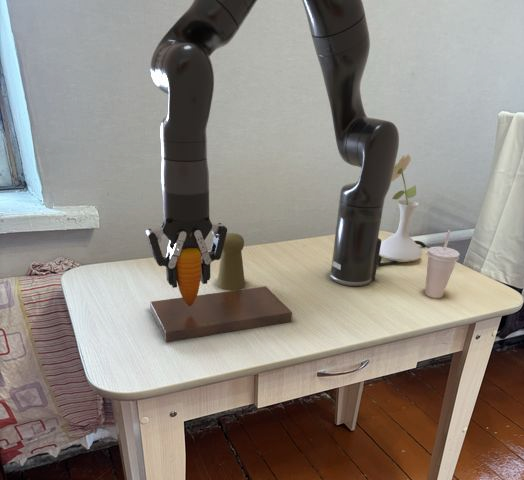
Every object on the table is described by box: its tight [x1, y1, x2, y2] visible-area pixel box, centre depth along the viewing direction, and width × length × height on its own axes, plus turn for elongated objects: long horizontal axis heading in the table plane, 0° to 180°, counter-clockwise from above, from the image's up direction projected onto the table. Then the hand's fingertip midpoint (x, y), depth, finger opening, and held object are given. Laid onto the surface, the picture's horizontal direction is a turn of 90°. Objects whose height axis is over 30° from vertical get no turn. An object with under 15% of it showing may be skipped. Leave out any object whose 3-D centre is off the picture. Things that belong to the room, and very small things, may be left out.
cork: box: [216, 232, 246, 291], centre depth 106 cm, size 6×6×11 cm
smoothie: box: [424, 229, 461, 299], centre depth 105 cm, size 6×6×14 cm
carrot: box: [175, 233, 201, 306], centre depth 88 cm, size 5×5×15 cm
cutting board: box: [149, 285, 293, 343], centre depth 95 cm, size 24×12×2 cm, turn 113°
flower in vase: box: [379, 153, 423, 263], centre depth 121 cm, size 13×11×25 cm
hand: (189, 283), depth 90 cm, fingers closed on carrot, 5 cm apart
